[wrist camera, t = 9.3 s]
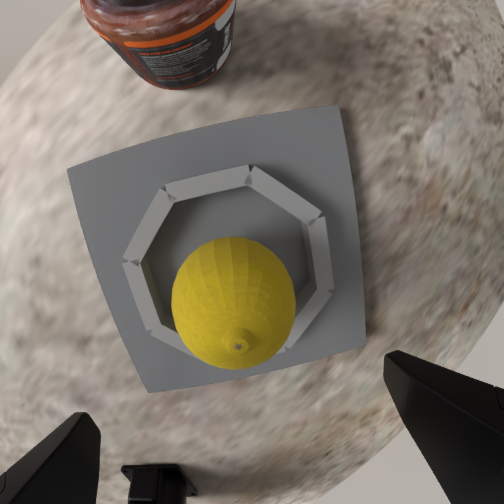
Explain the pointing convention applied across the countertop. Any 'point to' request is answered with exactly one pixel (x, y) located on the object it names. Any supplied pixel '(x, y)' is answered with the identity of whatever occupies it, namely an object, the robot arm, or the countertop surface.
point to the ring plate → (226, 233)
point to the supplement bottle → (166, 37)
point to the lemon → (233, 303)
